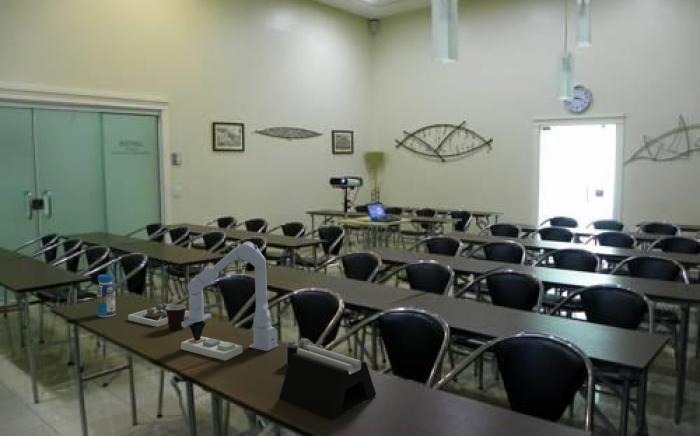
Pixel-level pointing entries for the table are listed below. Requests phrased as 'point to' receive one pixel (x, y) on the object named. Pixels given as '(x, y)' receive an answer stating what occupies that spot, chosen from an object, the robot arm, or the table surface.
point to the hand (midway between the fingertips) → (197, 339)
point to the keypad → (211, 350)
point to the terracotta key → (197, 340)
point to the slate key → (211, 342)
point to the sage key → (226, 346)
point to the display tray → (139, 318)
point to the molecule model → (158, 307)
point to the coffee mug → (175, 317)
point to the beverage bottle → (106, 296)
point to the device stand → (326, 382)
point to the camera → (301, 344)
